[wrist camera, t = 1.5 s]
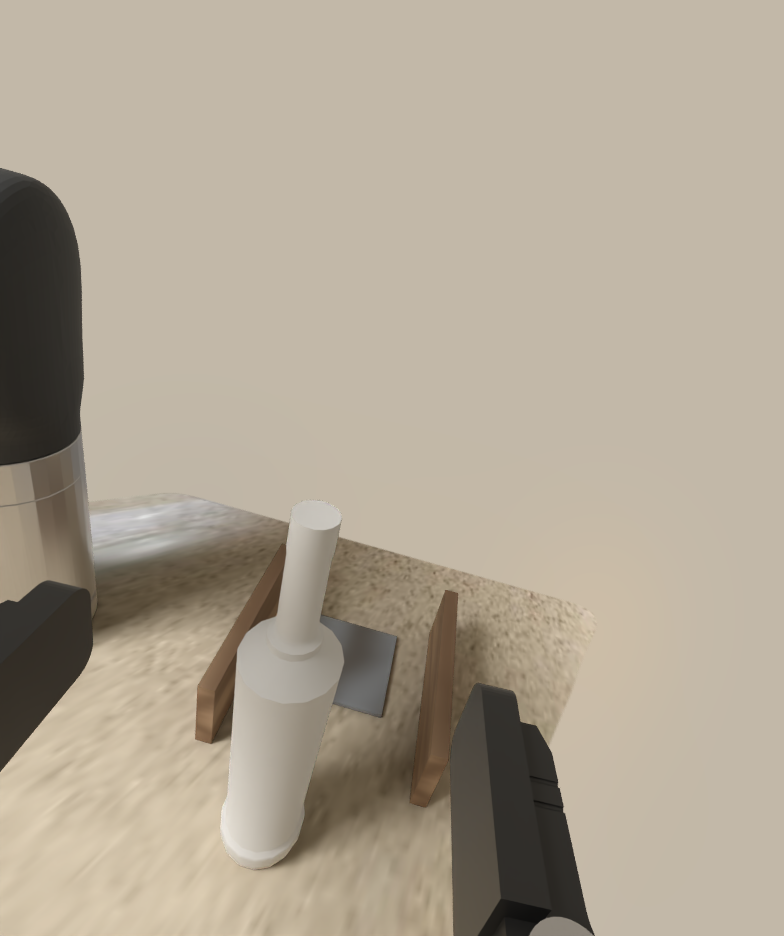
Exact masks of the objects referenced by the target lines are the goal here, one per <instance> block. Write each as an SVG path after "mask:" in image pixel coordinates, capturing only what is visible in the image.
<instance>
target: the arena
mask: <svg viewBox="0 0 784 936" xmlns="http://www.w3.org/2000/svg"><path fill="white" fill-rule="evenodd" d="M285 559H286V545H285V544H282V545H281V546H280V548H279V550H278V551H277V553H276V555H275V556H274V558H273V560H272V562H271V563H270V565H269V567H268V568H267V570H266V572H265V573H264V575H263V577H262V578H261V580H260V582H259V583H258V585H257V587H256V588H255V590H254V592H253V594H252V595H251V597H250V599H249V600H248V602H247V604H246V605H245V607H244V609H243V610H242V612H241V614H240V615H239V617H238V619H237V620H236V622H235V624H234V626H233V627H232V629H231V631H230V632H229V634H228V636H227V637H226V639H225V641H224V642H223V644H222V646H221V647H220V649H219V651H218V652H217V654H216V656H215V658H214V659H213V661H212V663H211V664H210V666H209V668H208V669H207V671H206V673H205V674H204V676H203V678H202V679H201V681H200V683H199V684H198V688H197V711H196V734H195V739H196V740H200V741H203V742H206V743H210V744H211V743H212V741H213V739H214V737H215V735H216V733H217V731H218V729H219V727H220V725H221V723H222V721H223V719H224V717H225V715H226V713H227V711H228V709H229V707H230V705H231V703H232V701H233V699H234V692H235V678H236V663H237V649H238V647H239V645H240V643H241V641H242V640H243V638H244V636H245V634H246V633H247V632H248V631H249V630H251V629H252V628H253V627H255V626H256V625H257V624H259V623H260V622H261V621H264V620H267V619H270V618H273V617H275V616H276V614H277V611H278V605H279V598H280V592H281V585H282V579H283V572H284V566H285ZM457 604H458V593H455V592H452V591H448V590H445V593H444V596H443V598H442V601H441V604H440V607H439V609H438V612H437V615H436V618H435V620H434V623H433V626H432V628H431V631H430V634H429V642H428V651H427V659H426V668H425V676H424V684H423V693H422V701H421V710H420V718H419V727H418V735H417V744H416V752H415V760H414V769H413V777H412V786H411V794H410V803H412V804H415V805H418V806H422V807H425V808H426V806H427V804H428V802H429V800H430V798H431V796H432V794H433V792H434V790H435V787H436V785H437V783H438V781H439V779H440V777H441V775H442V773H443V771H444V769H445V766H446V764H447V762H448V760H449V747H450V729H451V711H452V693H453V675H454V658H455V640H456V622H457ZM320 623H322V624H323V625H324V626H326V627H327V628H329V629H330V630H332V632H333V633H334V635H335V636H336V637H337V639H338V640H339V642H340V643H341V645H342V650H343V656H344V665H343V668H342V672H341V675H340V679H339V682H338V686H337V689H336V693H335V696H334V700H333V703H332V704H336V705H339V706H343V707H346V708H349V709H353V710H356V711H360V712H363V713H367V714H370V715H373V716H377V717H380V718H381V716H382V711H383V706H384V701H385V696H386V691H387V685H388V680H389V675H390V670H391V665H392V660H393V654H394V649H395V644H396V639H397V636H394V635H390V634H387V633H383V632H380V631H376V630H373V629H369V628H366V627H362V626H359V625H355V624H352V623H348V622H345V621H341V620H338V619H334V618H331V617H327V616H324V615H321V616H320Z"/></svg>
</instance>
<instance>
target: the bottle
mask: <svg viewBox="0 0 784 936" xmlns="http://www.w3.org/2000/svg"><path fill="white" fill-rule="evenodd" d="M341 521H342V516H341V512H340V511H339V510H338V509H337V508H336V507H335V506H333V505H331V504H329V503H327V502H324V501H320V500H306V501H301V502H299V503H298V504H296V505H294V507H293V509H292V510H291V517H290V523H289V530H288V537H287V544H286V559H285V566H284V572H283V579H282V585H281V592H280V598H279V605H278V611H277V616H276V617H273V618H270V619H267V620H264V621H261V622H260V623H259V624H257V625H256V626H255V627H253V628H252V629H251V630H249V631H248V632H247V633H246V634H245V636H244V638H243V640H242V641H241V643H240V645H239V647H238V649H237V663H236V678H235V692H234V707H233V722H232V736H231V751H230V765H229V780H228V795H227V798H226V800H225V802H224V805H223V807H222V812H221V829H220V834H221V838H222V841H223V844H224V846H225V849H226V852H227V854H228V855H229V856H230V857H231V858H232V859H233V860H234V861H235V862H236V863H237V864H238V865H239V866H242V867H246V868H249V869H252V870H256V869H263V868H269V867H271V866H272V865H274V864H275V863H277V862H278V861H280V860H281V859H283V858H284V857H285V856H286V855H287V854H288V852H289V851H290V849H291V848H292V847H293V845H294V844H295V843H296V841H297V839H298V837H299V833H300V830H301V827H302V823H303V820H304V817H305V811H304V800H305V797H306V793H307V790H308V786H309V783H310V780H311V776H312V773H313V769H314V766H315V762H316V759H317V755H318V752H319V748H320V745H321V741H322V738H323V734H324V731H325V727H326V724H327V721H328V717H329V714H330V710H331V707H332V703H333V700H334V696H335V693H336V689H337V686H338V682H339V679H340V675H341V672H342V668H343V665H344V656H343V650H342V645H341V643H340V642H339V640H338V639H337V637H336V636H335V635H334V633H333V632H332V630H330V629H329V628H327V627H326V626H324V625H323V624H322V623H320V616H321V611H322V606H323V601H324V596H325V592H326V587H327V582H328V577H329V572H330V567H331V562H332V558H333V556H334V554H335V549H336V544H337V540H338V535H339V530H340V525H341Z"/></svg>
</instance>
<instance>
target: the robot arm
mask: <svg viewBox="0 0 784 936" xmlns="http://www.w3.org/2000/svg"><path fill="white" fill-rule="evenodd" d="M81 288H82V286H81V266H80V258H79V250H78V244H77V240H76V236H75V232H74V228H73V225H72V223H71V220H70V218H69V215H68V213H67V211H66V209H65V207H64V206H63V204H62V203H61V201H60V200H59V198H58V197H57V196H56V195H55V194H54V193H53V191H52V190H51V189H50V188H48V187H47V186H46V185H44V184H43V183H41V182H40V181H38V180H36V179H34V178H31V177H29V176H26V175H23V174H20V173H16V172H13V171H9V170H6V169H2V168H0V772H1V770H2V769H3V768H4V767H5V765H6V764H7V763H8V762H9V761H10V759H11V758H12V757H13V756H14V755H15V753H16V752H17V751H18V750H19V748H20V747H21V746H22V745H23V744H24V742H25V741H26V740H27V739H28V738H29V736H30V735H31V734H32V733H33V731H34V730H35V729H36V728H37V727H38V725H39V724H40V723H41V722H42V721H43V719H44V718H45V717H46V716H47V714H48V713H49V712H50V711H51V710H52V708H53V707H54V706H55V705H56V704H57V702H58V701H59V700H60V699H61V697H62V696H63V695H64V694H65V693H66V691H67V690H68V689H69V688H70V687H71V685H72V684H73V683H74V682H75V680H76V679H77V678H78V677H79V676H80V674H81V673H82V671H83V670H84V668H85V666H86V664H87V662H88V660H89V658H90V655H91V652H92V647H93V634H92V618H93V616H94V614H95V612H96V609H97V602H98V600H97V590H96V579H95V567H94V557H93V546H92V536H91V525H90V515H89V504H88V494H87V483H86V474H85V463H84V453H83V443H82V432H81V422H80V406H81V398H82V391H83V381H84V371H83V370H84V369H83V343H82V289H81ZM450 782H451V833H452V883H453V933H454V936H595V935H594V933H593V930H592V928H591V925H590V922H589V919H588V915H587V912H586V908H585V903H584V898H583V894H582V889H581V884H580V880H579V875H578V871H577V866H576V861H575V857H574V853H573V848H572V843H571V838H570V834H569V830H568V825H567V820H566V816H565V813H563V802H562V797H561V793H560V788H558V779H557V775H556V770H555V765H554V761H553V756H552V753H551V751H550V749H549V747H548V745H547V744H546V742H545V740H544V738H543V737H542V735H541V733H540V731H539V730H538V728H537V726H535V725H531V724H527V723H522V722H520V717H519V711H518V705H517V699H516V696H515V693H514V692H513V691H510V690H506V689H502V688H498V687H493V686H489V685H485V684H481V683H476V684H475V685H474V687H473V689H472V692H471V694H470V696H469V699H468V701H467V703H466V706H465V708H464V711H463V713H462V715H461V718H460V720H459V722H458V725H457V727H456V730H455V733H454V736H453V741H452V747H451V756H450Z"/></svg>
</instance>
